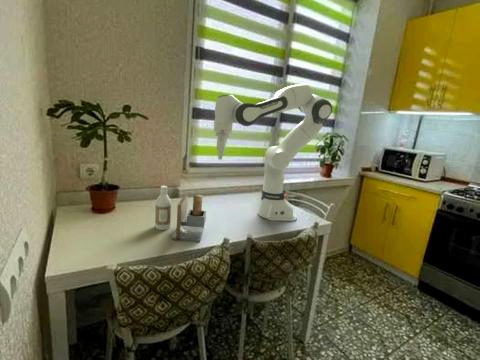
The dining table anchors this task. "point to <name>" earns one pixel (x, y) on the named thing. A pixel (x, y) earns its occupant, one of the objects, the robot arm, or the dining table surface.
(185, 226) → the cup bracket
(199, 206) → the oak rail post
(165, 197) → the bath foam
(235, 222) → the dining table surface
